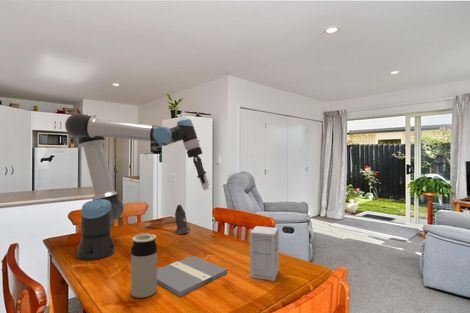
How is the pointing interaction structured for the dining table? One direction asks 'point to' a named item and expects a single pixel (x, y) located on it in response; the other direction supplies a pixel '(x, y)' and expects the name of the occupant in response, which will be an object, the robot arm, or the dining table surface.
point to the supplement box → (264, 253)
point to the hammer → (176, 221)
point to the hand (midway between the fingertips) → (206, 187)
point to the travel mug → (143, 266)
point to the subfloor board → (188, 275)
